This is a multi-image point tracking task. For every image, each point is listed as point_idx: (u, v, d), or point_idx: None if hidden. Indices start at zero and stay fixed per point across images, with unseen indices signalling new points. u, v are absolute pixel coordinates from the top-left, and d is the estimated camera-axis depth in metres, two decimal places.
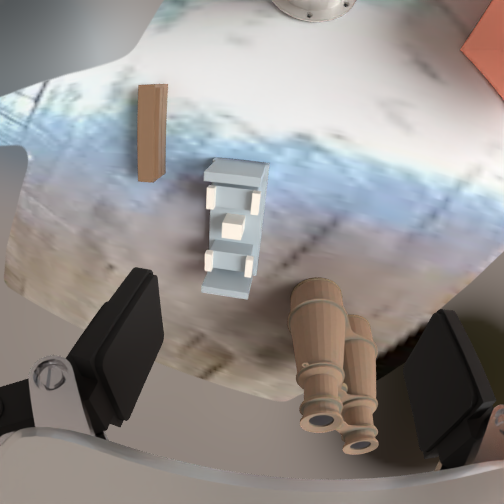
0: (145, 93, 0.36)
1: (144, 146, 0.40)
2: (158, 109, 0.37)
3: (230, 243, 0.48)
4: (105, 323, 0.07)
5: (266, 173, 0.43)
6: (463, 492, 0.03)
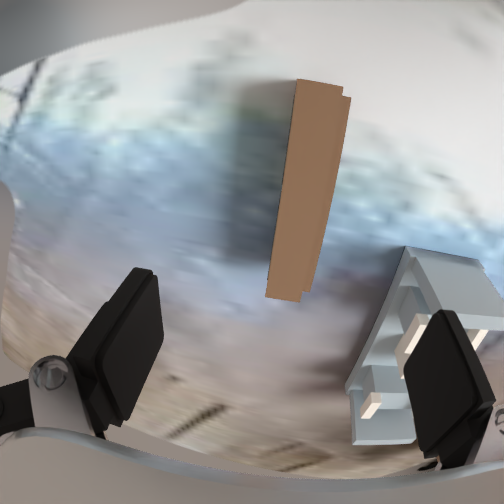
0: (315, 104, 0.15)
1: (294, 231, 0.19)
2: (339, 149, 0.16)
3: (394, 370, 0.27)
4: (105, 323, 0.07)
5: None
6: (463, 492, 0.03)
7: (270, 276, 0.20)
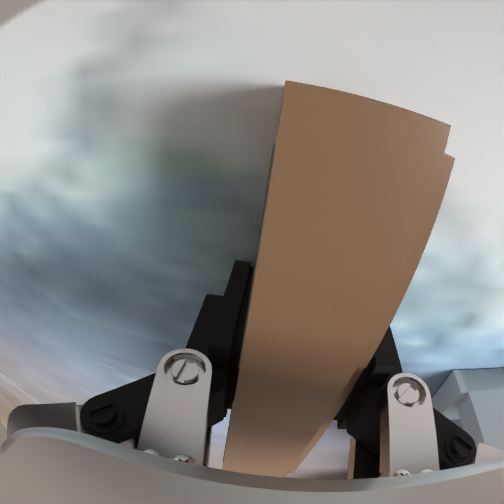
0: (350, 184, 0.04)
1: (266, 439, 0.08)
2: (394, 302, 0.06)
3: None
4: (231, 312, 0.08)
5: None
6: (463, 492, 0.03)
7: (225, 468, 0.10)
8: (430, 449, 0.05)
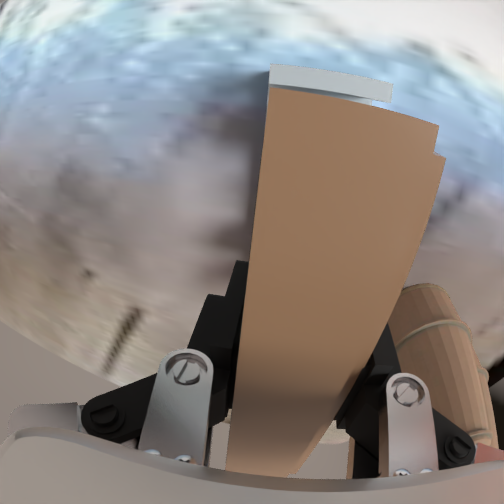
0: (338, 188, 0.04)
1: (266, 440, 0.08)
2: (388, 303, 0.06)
3: None
4: (232, 313, 0.08)
5: (369, 98, 0.20)
6: (463, 492, 0.03)
7: (228, 470, 0.10)
8: (429, 449, 0.05)
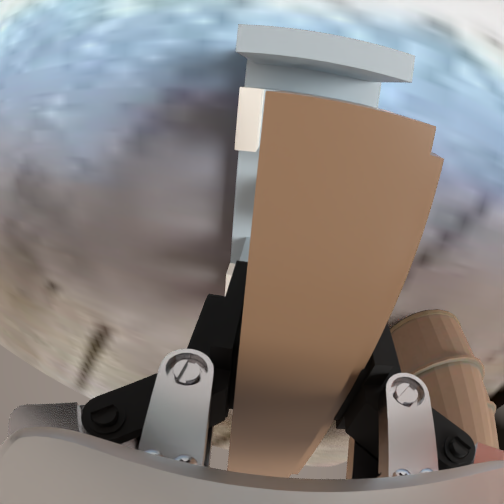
0: (335, 190, 0.04)
1: (267, 441, 0.08)
2: (388, 305, 0.06)
3: None
4: (233, 313, 0.08)
5: (377, 83, 0.15)
6: (463, 492, 0.03)
7: None
8: (429, 449, 0.05)
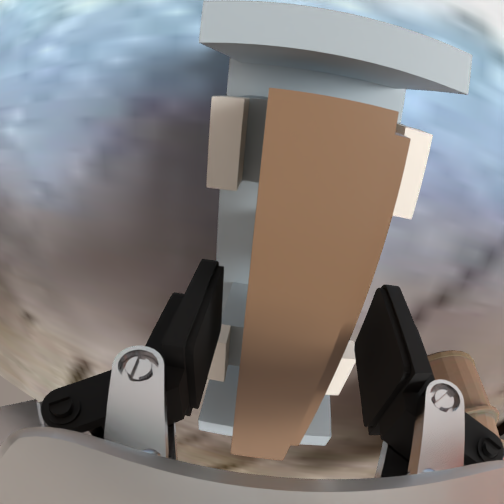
0: (321, 161, 0.06)
1: (270, 401, 0.09)
2: (372, 262, 0.07)
3: None
4: (189, 311, 0.08)
5: (401, 89, 0.11)
6: (463, 492, 0.03)
7: (235, 439, 0.11)
8: (457, 454, 0.04)
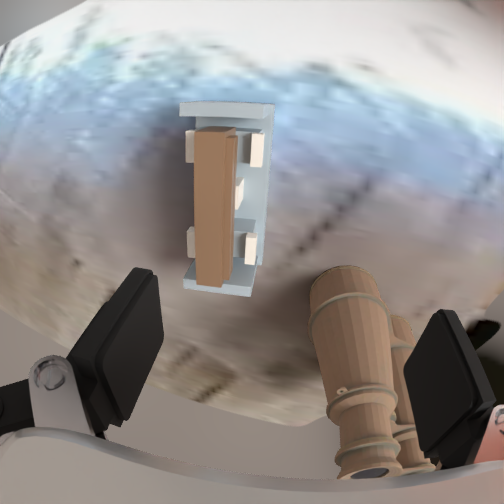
0: (207, 147, 0.23)
1: (207, 235, 0.27)
2: (230, 175, 0.25)
3: None
4: (105, 323, 0.07)
5: (271, 115, 0.29)
6: (463, 492, 0.03)
7: (197, 268, 0.28)
8: None
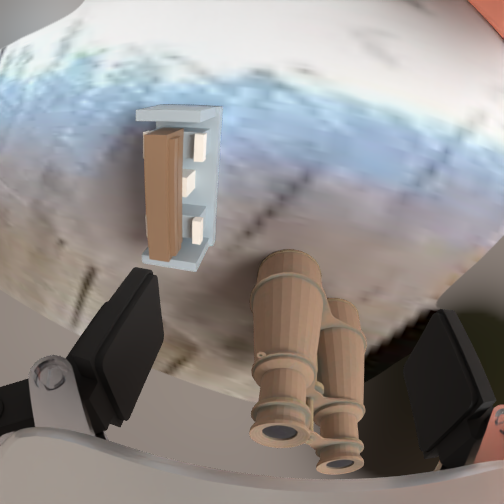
0: (154, 147, 0.28)
1: (155, 218, 0.32)
2: (173, 169, 0.29)
3: None
4: (105, 323, 0.07)
5: (217, 116, 0.34)
6: (463, 492, 0.03)
7: (149, 245, 0.33)
8: None
